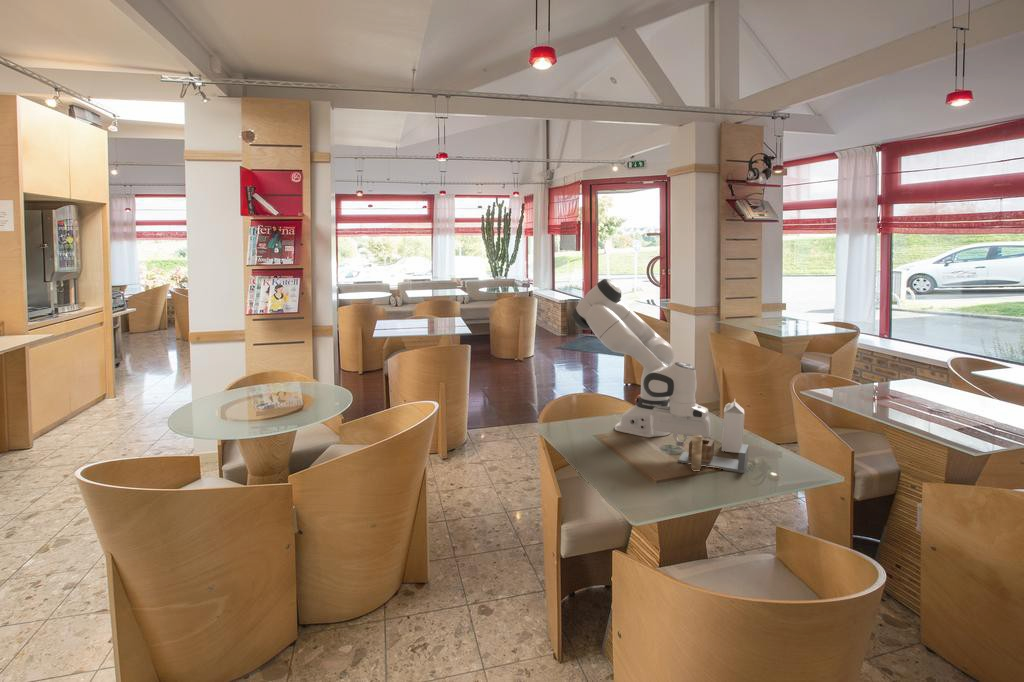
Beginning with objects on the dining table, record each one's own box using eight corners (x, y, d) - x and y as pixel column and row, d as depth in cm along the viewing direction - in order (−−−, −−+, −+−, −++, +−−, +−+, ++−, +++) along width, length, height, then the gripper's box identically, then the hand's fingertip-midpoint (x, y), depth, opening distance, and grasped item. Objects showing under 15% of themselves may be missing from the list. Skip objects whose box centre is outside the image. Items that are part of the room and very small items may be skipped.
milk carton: (741, 448, 235) (744, 399, 232) (741, 453, 228) (745, 403, 225) (721, 445, 237) (724, 397, 234) (721, 451, 230) (724, 402, 227)
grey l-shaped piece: (677, 462, 218) (678, 443, 217) (683, 454, 227) (684, 435, 226) (743, 473, 209) (745, 453, 207) (747, 464, 217) (748, 444, 216)
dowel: (690, 470, 211) (691, 436, 209) (691, 467, 213) (693, 434, 211) (699, 472, 209) (701, 438, 207) (701, 469, 212) (703, 435, 210)
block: (688, 459, 218) (689, 443, 217) (692, 453, 224) (693, 437, 223) (710, 462, 215) (711, 446, 214) (713, 456, 221) (714, 440, 220)
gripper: (650, 406, 222) (649, 443, 224) (710, 414, 213) (707, 452, 215) (655, 402, 227) (653, 439, 229) (713, 409, 218) (710, 447, 220)
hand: (680, 445), depth 222 cm, fingers closed
